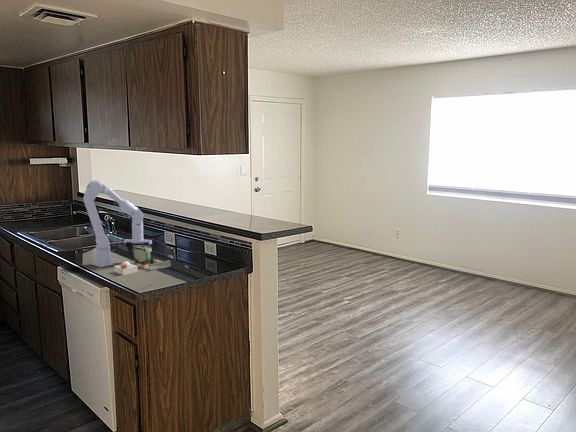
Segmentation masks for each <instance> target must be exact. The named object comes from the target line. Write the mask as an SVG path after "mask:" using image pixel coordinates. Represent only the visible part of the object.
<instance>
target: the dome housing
mask: <svg viewBox="0 0 576 432" xmlns="http://www.w3.org/2000/svg"><path fill="white" fill-rule="evenodd" d="M121 264H122V263H121ZM121 264H119V265H113V269H114V270H113V271H114V273H115V272H116V273H115V274H118V275H122V276H125V275H129V274H134V273H135V274H136V273H138V272H139V270H138V268H139V267H138V266H136V265H135V264H133V263H130V264H131V267H127V268H126V264H122V265H121Z"/></svg>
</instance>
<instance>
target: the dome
mask: <svg viewBox="0 0 576 432" xmlns="http://www.w3.org/2000/svg"><path fill="white" fill-rule="evenodd" d="M122 264H126V268H127V267H131V264H132V263H131V262H130V261H127V260H126V261H122V263H121V264H120V265H122Z"/></svg>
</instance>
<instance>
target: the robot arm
mask: <svg viewBox="0 0 576 432" xmlns="http://www.w3.org/2000/svg"><path fill="white" fill-rule="evenodd" d="M100 194H101V195H104V196H105V195H106V196H108V197H109V198H110V199H112V200H113V201H114V202H116V203H117V204H118V206H119V209H121V210H122V211H123V213H125V214H126V215H128V216H130V218H132V219H131V237H132V238H127V239H126V238H125V239H123V243H124V244H125V247H126V248H127V250H128V253H129V255H130V257H131V258H132V257H134V249H133V247H134V246H135V244H136V245H137V244H138V245H147V246H150V247H151V245H152V244H153V240H152V239H146V238H145V237H144V217H145V215H144V212H143V211H141V209H139V207H138V206H136V205H134V204H133V203H132V201H131V200H130V199H129V200H128V199H123V198H122V197H120V196H119V195H118V194H117V193H116V192H115V191H114V190H113V189H111V188H110V187H108V186H107V185H105V184H104V183H101V181H99V180H96V179H94V180H91V181H90V182H89V183H88V185H87V186H86V188H85V192H84V195H83V198H82V199H83V203H84V206H85V208H86V212H87V214H88V217H89V221H90V222H91V225H92V228H93V231H94V234H95V243H96V246H95V248H94V249H93V250H92V253H91V254H92V255H91V257H92V263H91V264H90V265H92V266H95V267H98V268H104V267H109V266H112V265H113V266H115V263H113V262H112V260H111V259H112V257H111V246H110V243H111V241H110V239H109V237H108V236H107V234H106V231H104V227H103V225H102V222H101V218H100V216H99V213H98V210H97V207H96V204H95V200H96V198H97V196H98V195H100ZM144 238H145V239H144Z"/></svg>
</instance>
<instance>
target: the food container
mask: <svg viewBox="0 0 576 432" xmlns="http://www.w3.org/2000/svg"><path fill="white" fill-rule="evenodd" d="M152 251H153V250H152V247H151V245H150V246H147V245H143V244H138V245H137V244H134V246H133V257H134V264H135V263H139V264H143V265H146V266H150V264H151V253H152Z"/></svg>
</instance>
